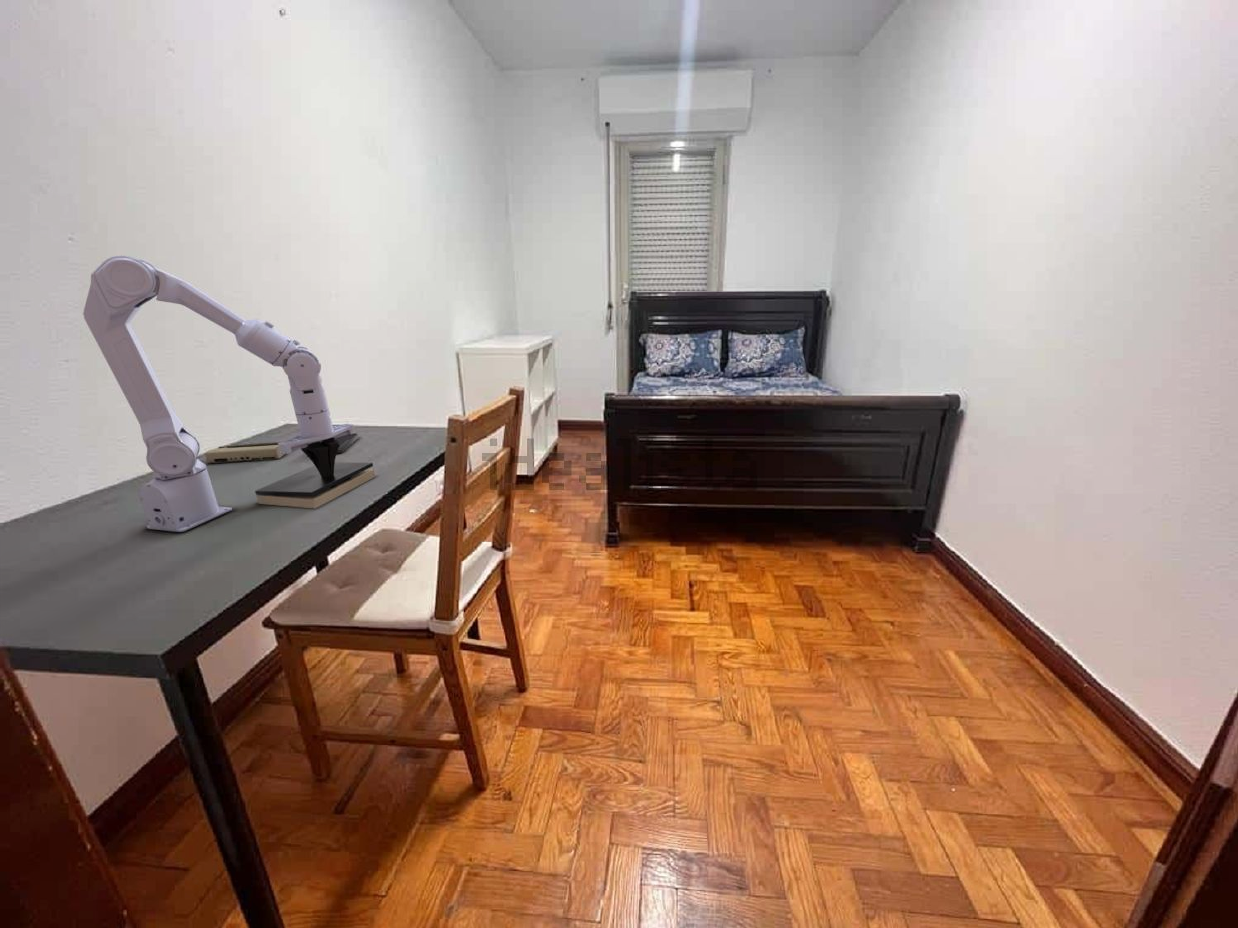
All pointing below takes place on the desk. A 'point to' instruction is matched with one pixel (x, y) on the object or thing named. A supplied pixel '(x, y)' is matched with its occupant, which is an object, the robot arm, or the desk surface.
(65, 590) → the desk surface
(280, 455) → the computer
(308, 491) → the laptop screen
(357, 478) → the laptop
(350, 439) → the phone
